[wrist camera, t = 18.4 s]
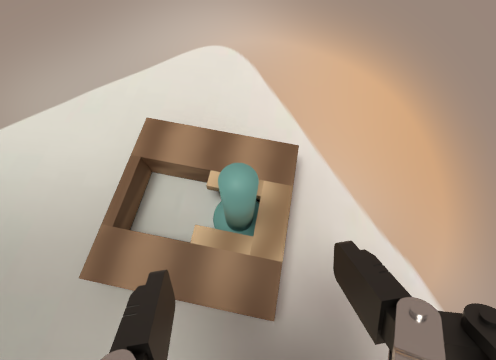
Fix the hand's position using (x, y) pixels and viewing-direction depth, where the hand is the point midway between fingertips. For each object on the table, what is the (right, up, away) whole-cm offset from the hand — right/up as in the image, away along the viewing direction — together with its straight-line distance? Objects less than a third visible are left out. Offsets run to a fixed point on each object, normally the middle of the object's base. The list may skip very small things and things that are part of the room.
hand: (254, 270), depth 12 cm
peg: (-1, 0, +14) cm, 14 cm away
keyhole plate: (-5, +1, +14) cm, 15 cm away
